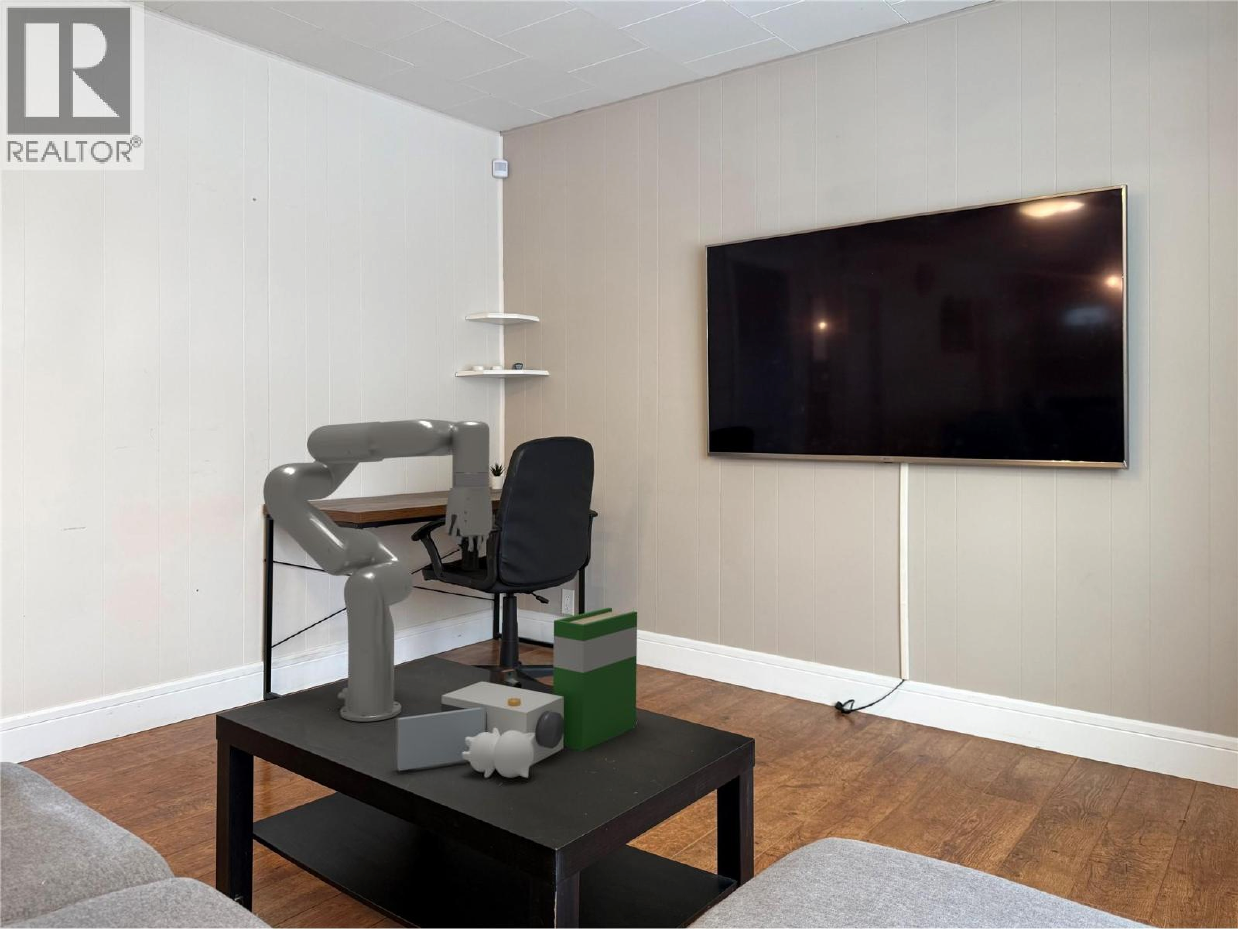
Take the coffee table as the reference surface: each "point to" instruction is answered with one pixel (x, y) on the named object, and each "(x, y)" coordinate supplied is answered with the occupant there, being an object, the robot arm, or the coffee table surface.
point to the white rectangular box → (515, 713)
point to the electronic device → (504, 677)
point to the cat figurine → (501, 752)
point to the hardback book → (596, 675)
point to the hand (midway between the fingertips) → (470, 569)
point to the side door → (436, 737)
